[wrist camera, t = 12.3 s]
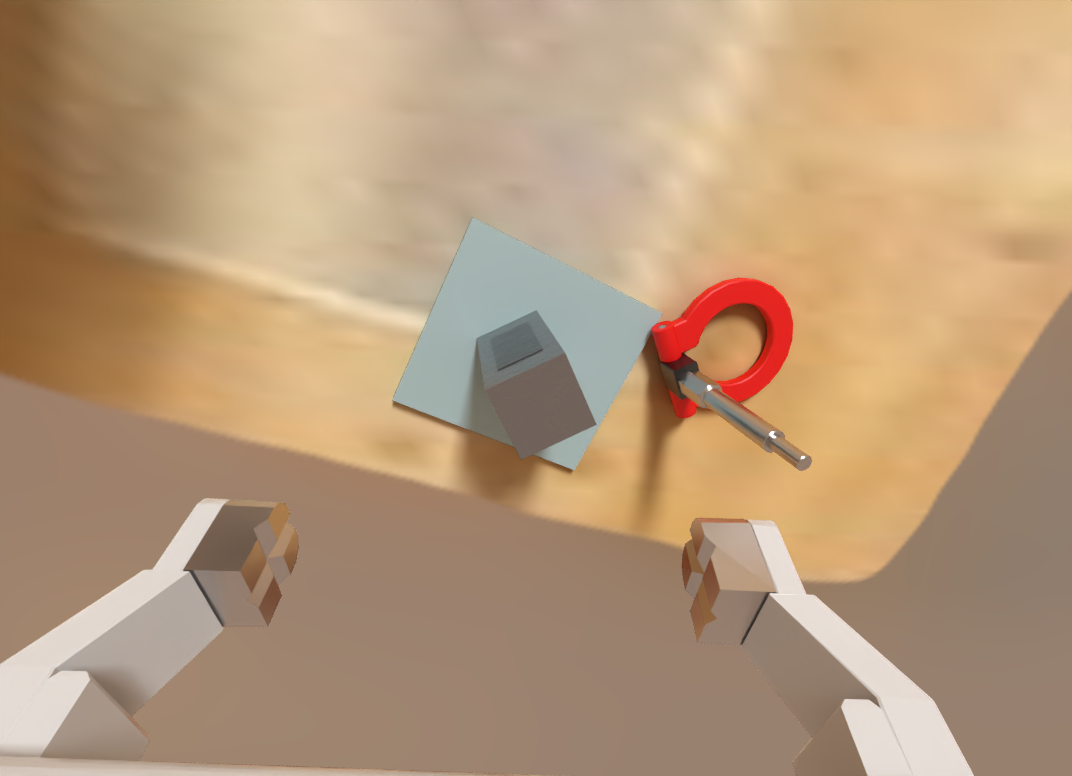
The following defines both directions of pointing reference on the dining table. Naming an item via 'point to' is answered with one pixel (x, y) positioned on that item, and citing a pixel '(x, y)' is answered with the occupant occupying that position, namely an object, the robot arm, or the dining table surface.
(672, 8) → the dining table surface
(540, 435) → the link block
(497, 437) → the pad
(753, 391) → the tow hook
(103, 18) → the dining table surface
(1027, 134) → the dining table surface
